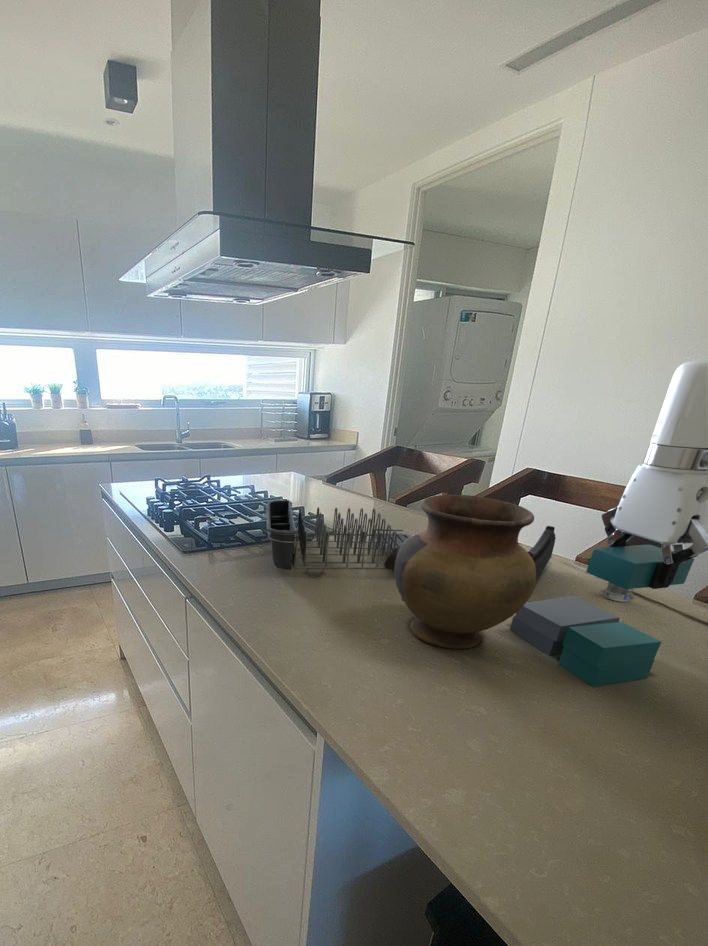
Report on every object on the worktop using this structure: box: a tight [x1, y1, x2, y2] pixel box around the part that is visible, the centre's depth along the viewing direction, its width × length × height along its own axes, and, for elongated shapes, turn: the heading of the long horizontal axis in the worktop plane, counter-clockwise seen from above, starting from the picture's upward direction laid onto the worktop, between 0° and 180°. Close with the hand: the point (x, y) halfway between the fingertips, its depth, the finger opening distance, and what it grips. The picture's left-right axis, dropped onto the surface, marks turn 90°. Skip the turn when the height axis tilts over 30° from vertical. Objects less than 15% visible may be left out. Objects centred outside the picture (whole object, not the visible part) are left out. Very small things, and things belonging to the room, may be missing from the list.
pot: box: [383, 494, 537, 650], centre depth 87 cm, size 25×24×25 cm
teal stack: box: [558, 621, 662, 687], centre depth 80 cm, size 11×7×7 cm, turn 104°
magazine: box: [527, 525, 556, 582], centre depth 115 cm, size 17×3×30 cm
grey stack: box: [509, 595, 621, 657], centre depth 90 cm, size 14×10×6 cm
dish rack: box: [265, 499, 412, 577], centre depth 128 cm, size 34×44×12 cm
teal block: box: [585, 543, 695, 590], centre depth 74 cm, size 11×7×4 cm, turn 104°
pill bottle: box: [604, 582, 634, 603], centre depth 108 cm, size 5×5×8 cm
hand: (634, 576), depth 75 cm, fingers closed on teal block, 7 cm apart
